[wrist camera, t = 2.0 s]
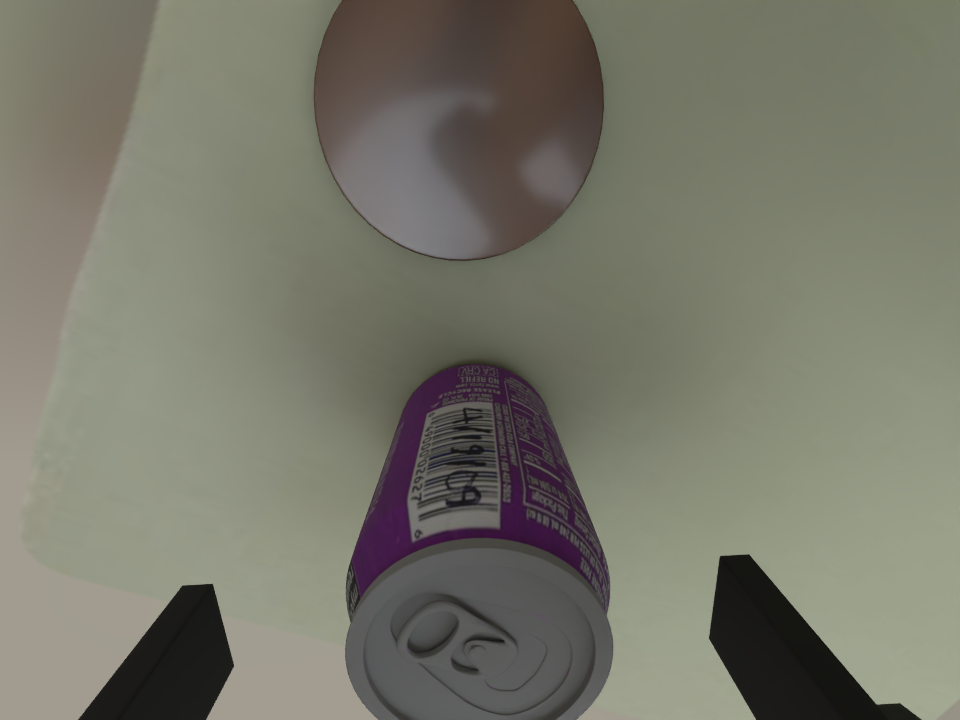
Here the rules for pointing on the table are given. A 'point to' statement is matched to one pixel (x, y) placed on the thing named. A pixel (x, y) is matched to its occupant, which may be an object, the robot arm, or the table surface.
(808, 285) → the table surface
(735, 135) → the table surface
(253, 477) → the table surface
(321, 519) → the table surface
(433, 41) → the coaster
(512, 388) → the beverage can
